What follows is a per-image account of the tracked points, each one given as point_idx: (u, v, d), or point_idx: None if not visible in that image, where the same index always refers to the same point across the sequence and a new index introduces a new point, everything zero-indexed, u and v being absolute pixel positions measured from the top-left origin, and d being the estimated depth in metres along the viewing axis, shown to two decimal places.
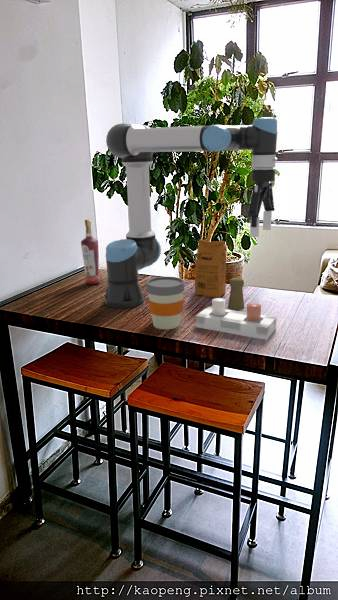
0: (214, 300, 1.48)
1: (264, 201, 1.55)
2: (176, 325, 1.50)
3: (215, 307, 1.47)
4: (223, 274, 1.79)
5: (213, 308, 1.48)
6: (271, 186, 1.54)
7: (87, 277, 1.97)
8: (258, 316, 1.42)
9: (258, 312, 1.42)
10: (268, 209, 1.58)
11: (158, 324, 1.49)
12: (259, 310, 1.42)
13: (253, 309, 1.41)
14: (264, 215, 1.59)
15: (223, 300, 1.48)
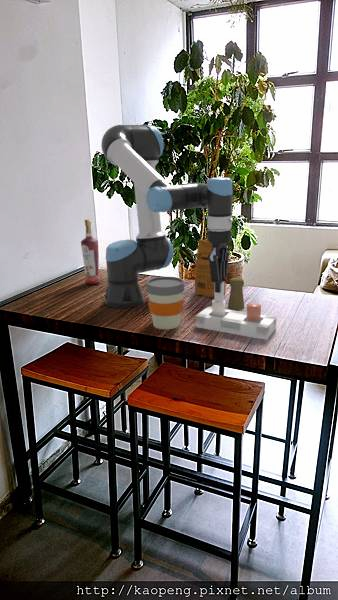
0: (214, 301, 1.48)
1: None
2: (176, 325, 1.50)
3: (215, 308, 1.47)
4: None
5: (213, 309, 1.48)
6: (228, 251, 1.47)
7: (87, 277, 1.97)
8: (258, 316, 1.42)
9: (258, 312, 1.42)
10: None
11: (158, 324, 1.49)
12: (259, 310, 1.42)
13: (253, 309, 1.41)
14: None
15: (223, 301, 1.48)
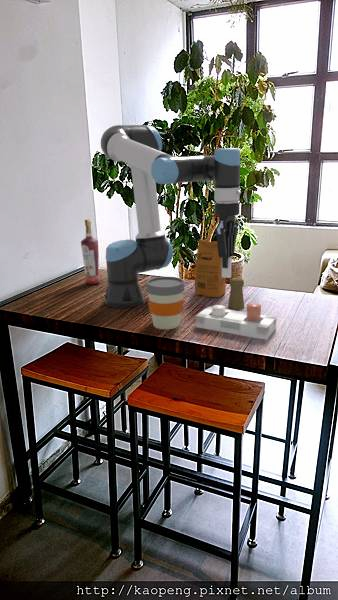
0: (214, 307, 1.49)
1: None
2: (176, 325, 1.50)
3: (215, 314, 1.48)
4: None
5: (213, 315, 1.49)
6: (236, 225, 1.43)
7: (87, 277, 1.97)
8: (258, 316, 1.42)
9: (258, 312, 1.42)
10: None
11: (158, 324, 1.49)
12: (259, 310, 1.42)
13: (253, 309, 1.41)
14: None
15: (223, 307, 1.49)
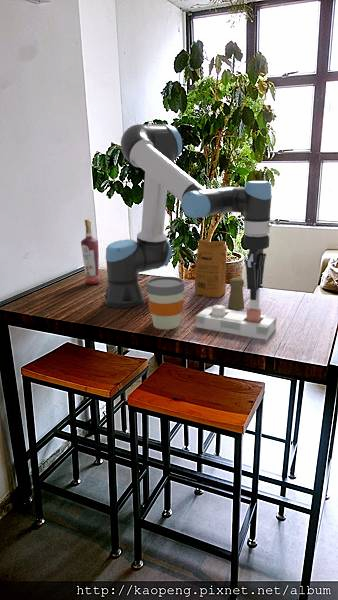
0: (214, 307, 1.49)
1: None
2: (176, 325, 1.50)
3: (215, 314, 1.48)
4: (223, 274, 1.79)
5: (213, 315, 1.49)
6: (264, 257, 1.42)
7: (87, 277, 1.97)
8: (258, 320, 1.42)
9: (258, 316, 1.42)
10: None
11: (158, 324, 1.49)
12: (259, 314, 1.42)
13: (253, 313, 1.41)
14: None
15: (223, 307, 1.49)
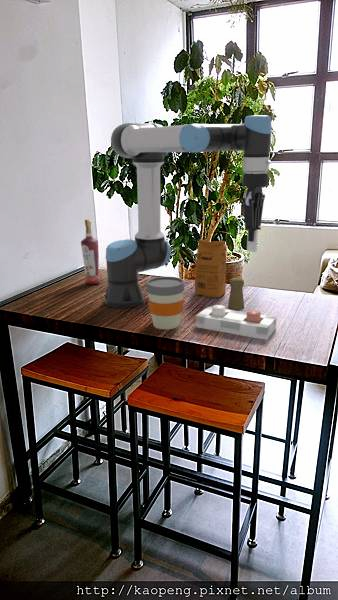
0: (214, 307, 1.49)
1: None
2: (176, 325, 1.50)
3: (215, 314, 1.48)
4: (223, 274, 1.79)
5: (213, 315, 1.49)
6: (263, 198, 1.39)
7: (87, 277, 1.97)
8: (258, 323, 1.43)
9: (258, 319, 1.42)
10: None
11: (158, 324, 1.49)
12: (259, 317, 1.42)
13: (253, 317, 1.42)
14: None
15: (223, 307, 1.49)
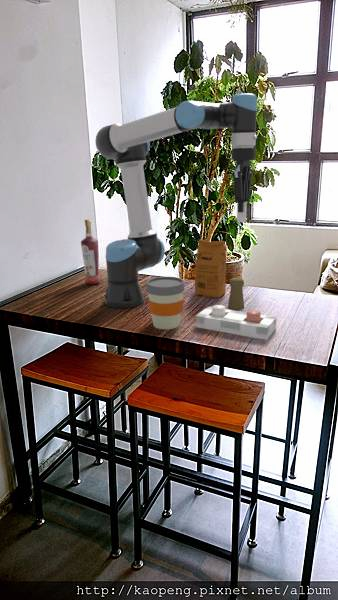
0: (214, 307, 1.49)
1: None
2: (176, 325, 1.50)
3: (215, 314, 1.48)
4: (223, 274, 1.79)
5: (213, 315, 1.49)
6: (251, 172, 1.50)
7: (87, 277, 1.97)
8: (258, 323, 1.43)
9: (258, 319, 1.42)
10: None
11: (158, 324, 1.49)
12: (259, 317, 1.42)
13: (253, 317, 1.42)
14: None
15: (223, 307, 1.49)
